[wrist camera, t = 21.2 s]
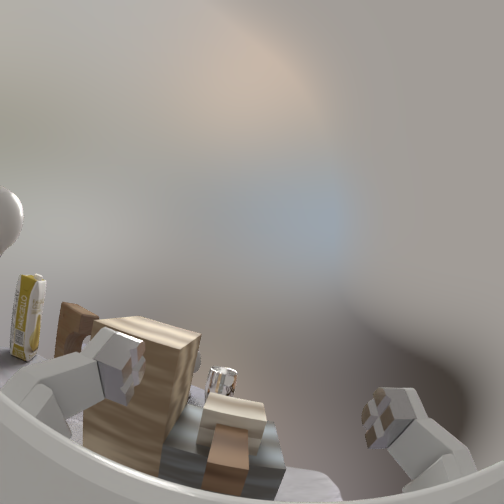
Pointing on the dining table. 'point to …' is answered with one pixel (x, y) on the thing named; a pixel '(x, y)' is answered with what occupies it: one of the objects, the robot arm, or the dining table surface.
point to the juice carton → (27, 316)
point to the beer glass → (221, 381)
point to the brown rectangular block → (229, 441)
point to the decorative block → (72, 328)
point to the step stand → (169, 416)
